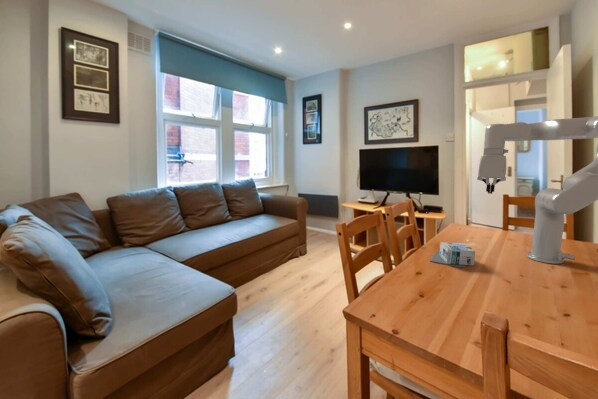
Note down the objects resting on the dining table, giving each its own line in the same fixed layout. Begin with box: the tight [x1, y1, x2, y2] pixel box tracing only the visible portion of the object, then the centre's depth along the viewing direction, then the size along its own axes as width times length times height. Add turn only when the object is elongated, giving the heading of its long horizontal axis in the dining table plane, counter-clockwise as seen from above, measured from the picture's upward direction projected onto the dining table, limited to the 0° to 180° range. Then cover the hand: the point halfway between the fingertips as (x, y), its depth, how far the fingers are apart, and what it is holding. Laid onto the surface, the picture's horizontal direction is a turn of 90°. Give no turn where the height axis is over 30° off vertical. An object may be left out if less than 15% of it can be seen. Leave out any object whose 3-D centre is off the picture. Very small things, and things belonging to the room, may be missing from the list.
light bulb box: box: [439, 241, 476, 266], centre depth 120 cm, size 11×7×11 cm
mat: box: [429, 247, 466, 269], centre depth 125 cm, size 13×20×1 cm, turn 144°
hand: (489, 193), depth 125 cm, fingers closed
